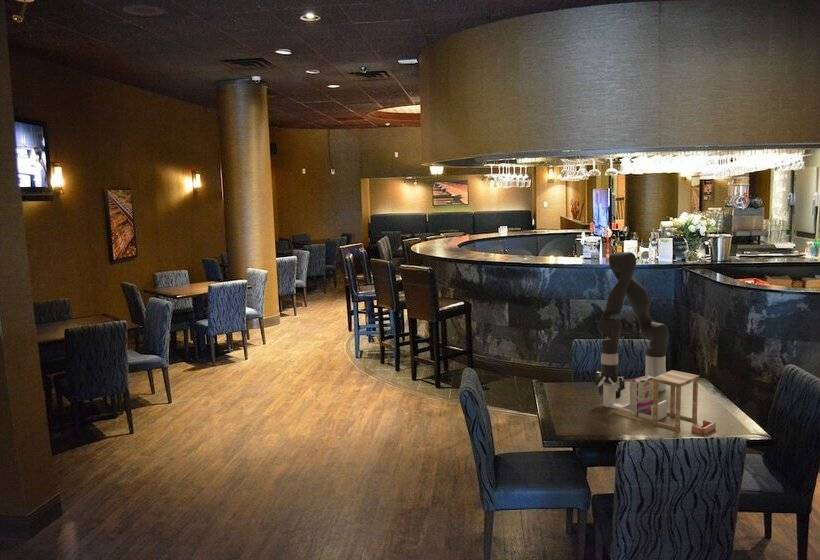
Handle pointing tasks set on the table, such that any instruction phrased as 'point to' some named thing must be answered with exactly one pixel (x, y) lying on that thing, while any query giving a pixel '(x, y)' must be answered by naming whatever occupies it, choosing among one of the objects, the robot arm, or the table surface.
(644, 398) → the candy bar box
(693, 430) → the tray
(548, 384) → the table surface
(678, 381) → the tunnel
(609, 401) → the sled
